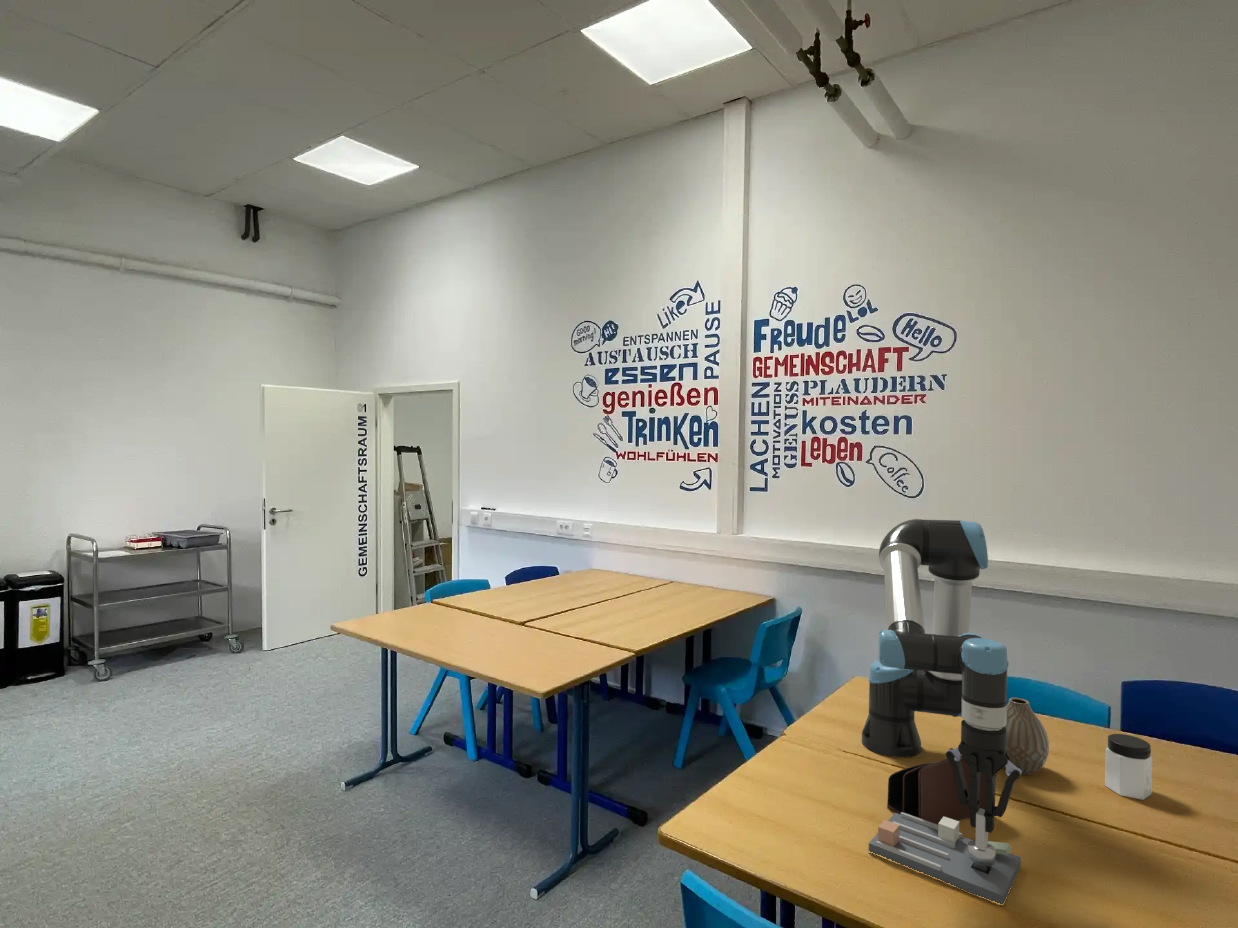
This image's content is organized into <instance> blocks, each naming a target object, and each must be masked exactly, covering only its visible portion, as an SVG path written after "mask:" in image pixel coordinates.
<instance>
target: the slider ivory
mask: <svg viewBox="0 0 1238 928" xmlns="http://www.w3.org/2000/svg"><path fill="white" fill-rule="evenodd" d="M959 832H960V821H956V820H953V819H950V818H947V817H944V816H943V818H942V819H941V820H940V822H939V823H938V838H941V839H944V840H947V841H949V842H952V843H956V841H957V839H958V838H959Z"/></svg>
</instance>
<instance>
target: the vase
mask: <svg viewBox="0 0 1238 928" xmlns="http://www.w3.org/2000/svg"><path fill="white" fill-rule="evenodd" d="M1005 728H1006V752H1007V754H1008V756H1009V761H1010V762H1011V763H1012V764H1014V765H1015V766H1016V767H1017V766H1018V767H1021V768H1022V773H1021V775H1022V776H1023V775H1025V776H1026V775H1027V776H1028V775H1032V774H1035V772H1038V771H1039V770H1041V768H1043V767H1044V766H1045V764H1046V762H1047V760H1048V757H1049V752H1050V742H1049V736H1048V733H1047V731H1046V729H1045V727H1044V725H1043V723H1042V721H1041V720H1040V719H1039V717H1038V716H1037V715H1036V713H1035V712H1034V711H1033V710H1032V707H1031V705H1030V702H1029V700H1027V699H1024V698H1019V697H1010V698H1008V703H1007V724H1006V726H1005ZM1003 768H1004V769H1005V770H1006V767H1005V766H1004V767H1003Z"/></svg>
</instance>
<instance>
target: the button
mask: <svg viewBox="0 0 1238 928" xmlns="http://www.w3.org/2000/svg"><path fill="white" fill-rule="evenodd" d="M968 857H969V859H970V860H972V861H973V862H974V863H973V869H976V870H979V871H981V872H984V873H986V874H988V872H989V866H992V865H994V864H995V848H994V847H993V846H992V845H990V844H989V843H988V845H987V847H986V848H985V850H981V849H978V848H976V839H971V841H969V842H968Z"/></svg>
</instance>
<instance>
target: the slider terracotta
mask: <svg viewBox="0 0 1238 928" xmlns="http://www.w3.org/2000/svg"><path fill="white" fill-rule="evenodd" d="M877 828H878V829H877V833H878V841H879V842H882V843H885V844H887V845H890V846H892V847H895V845H896V844H897V843H898V842H899V833H900V825H898V824H896V823H893V822H890V821H888V820H887V819H883V820H882V822H881V823H880V824H879V825H878V827H877Z"/></svg>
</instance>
